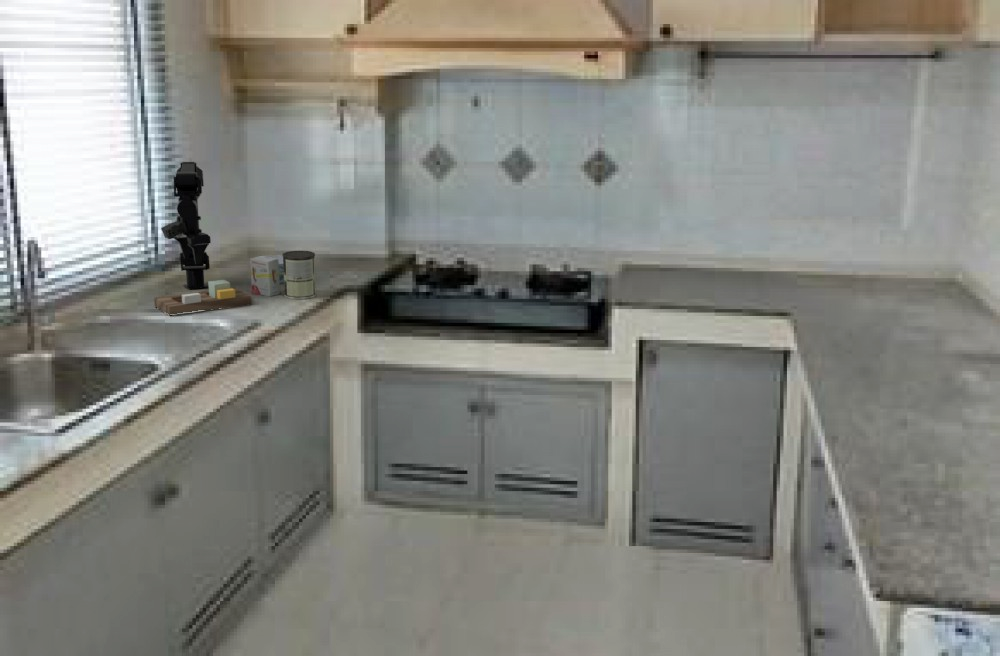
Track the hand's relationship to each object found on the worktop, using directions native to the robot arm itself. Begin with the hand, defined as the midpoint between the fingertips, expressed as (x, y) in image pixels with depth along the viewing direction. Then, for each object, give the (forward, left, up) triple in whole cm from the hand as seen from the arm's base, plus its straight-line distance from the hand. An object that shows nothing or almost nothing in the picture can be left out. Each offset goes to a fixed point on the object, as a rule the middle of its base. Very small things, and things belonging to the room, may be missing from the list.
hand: (191, 261), depth 314 cm
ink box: (+6, +22, -12) cm, 26 cm away
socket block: (+11, -1, -12) cm, 16 cm away
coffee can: (+15, +30, -12) cm, 36 cm away
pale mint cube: (+11, +4, -12) cm, 17 cm away
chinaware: (-8, +31, -12) cm, 35 cm away
